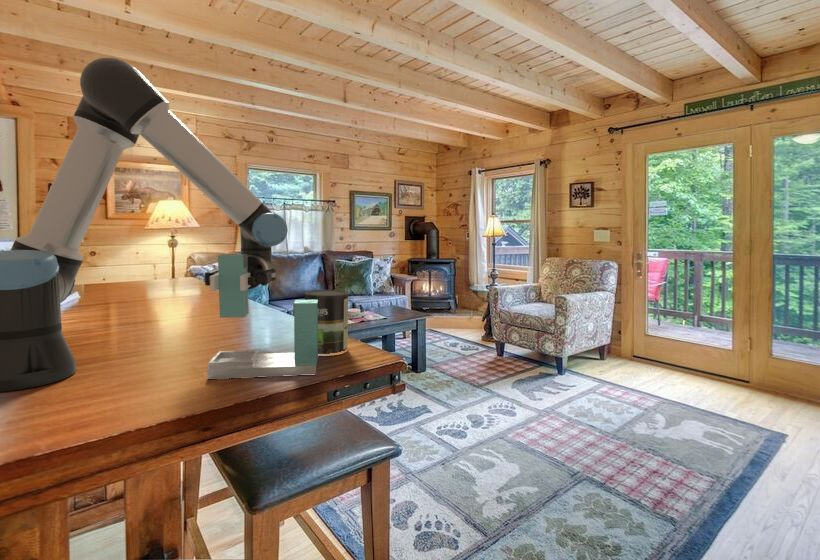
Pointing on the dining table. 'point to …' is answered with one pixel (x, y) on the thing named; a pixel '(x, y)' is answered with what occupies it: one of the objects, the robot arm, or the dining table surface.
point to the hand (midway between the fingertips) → (227, 283)
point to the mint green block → (232, 285)
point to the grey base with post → (275, 363)
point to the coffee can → (331, 319)
